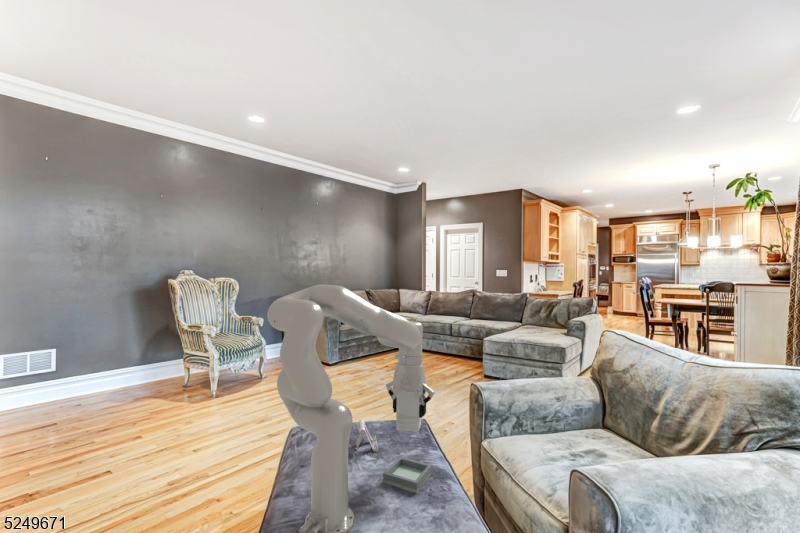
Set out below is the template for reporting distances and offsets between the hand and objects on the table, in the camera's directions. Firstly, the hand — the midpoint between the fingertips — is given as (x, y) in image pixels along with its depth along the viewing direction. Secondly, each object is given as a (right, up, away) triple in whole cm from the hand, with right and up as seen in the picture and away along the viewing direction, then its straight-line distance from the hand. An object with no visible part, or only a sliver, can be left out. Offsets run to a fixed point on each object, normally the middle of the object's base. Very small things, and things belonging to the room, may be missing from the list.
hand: (409, 413), depth 122 cm
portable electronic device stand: (-15, -20, +18) cm, 31 cm away
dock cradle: (0, -19, -3) cm, 20 cm away
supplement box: (0, -5, 0) cm, 5 cm away
